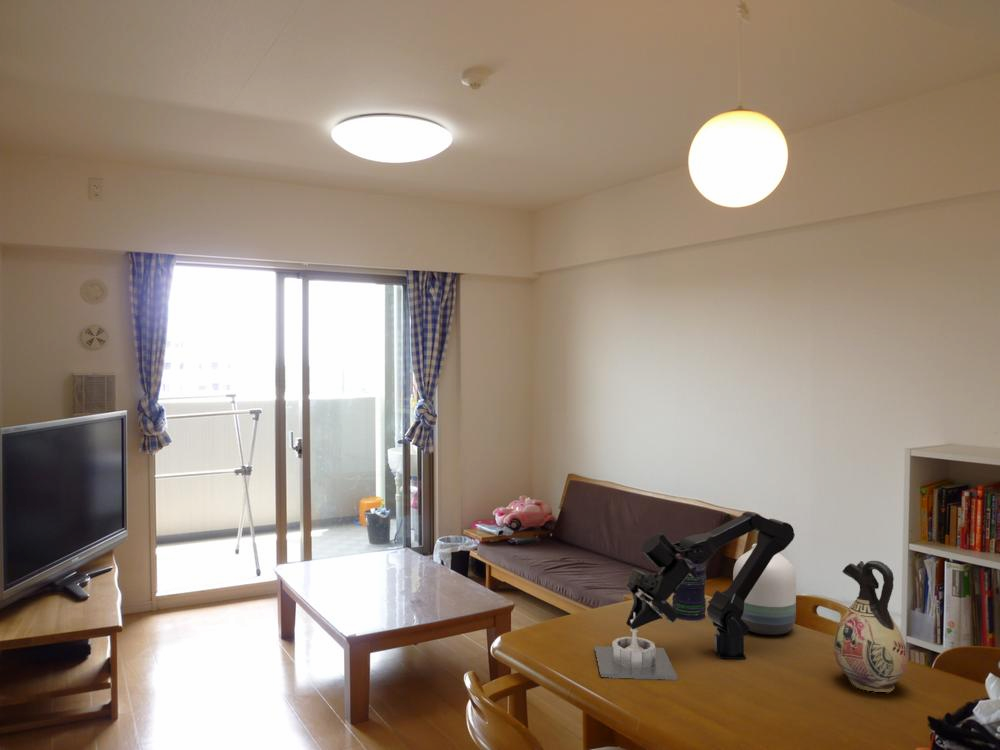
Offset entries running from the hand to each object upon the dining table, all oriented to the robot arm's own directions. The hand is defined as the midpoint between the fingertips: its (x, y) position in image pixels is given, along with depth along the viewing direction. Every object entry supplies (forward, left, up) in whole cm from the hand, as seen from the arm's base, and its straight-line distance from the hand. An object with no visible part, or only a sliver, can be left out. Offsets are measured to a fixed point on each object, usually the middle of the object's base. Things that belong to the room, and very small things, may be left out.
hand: (629, 626), depth 179 cm
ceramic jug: (-55, +10, -10) cm, 57 cm away
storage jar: (-23, -39, -10) cm, 47 cm away
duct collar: (-1, 0, -10) cm, 10 cm away
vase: (-42, -28, -10) cm, 52 cm away
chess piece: (-1, 0, -7) cm, 7 cm away
